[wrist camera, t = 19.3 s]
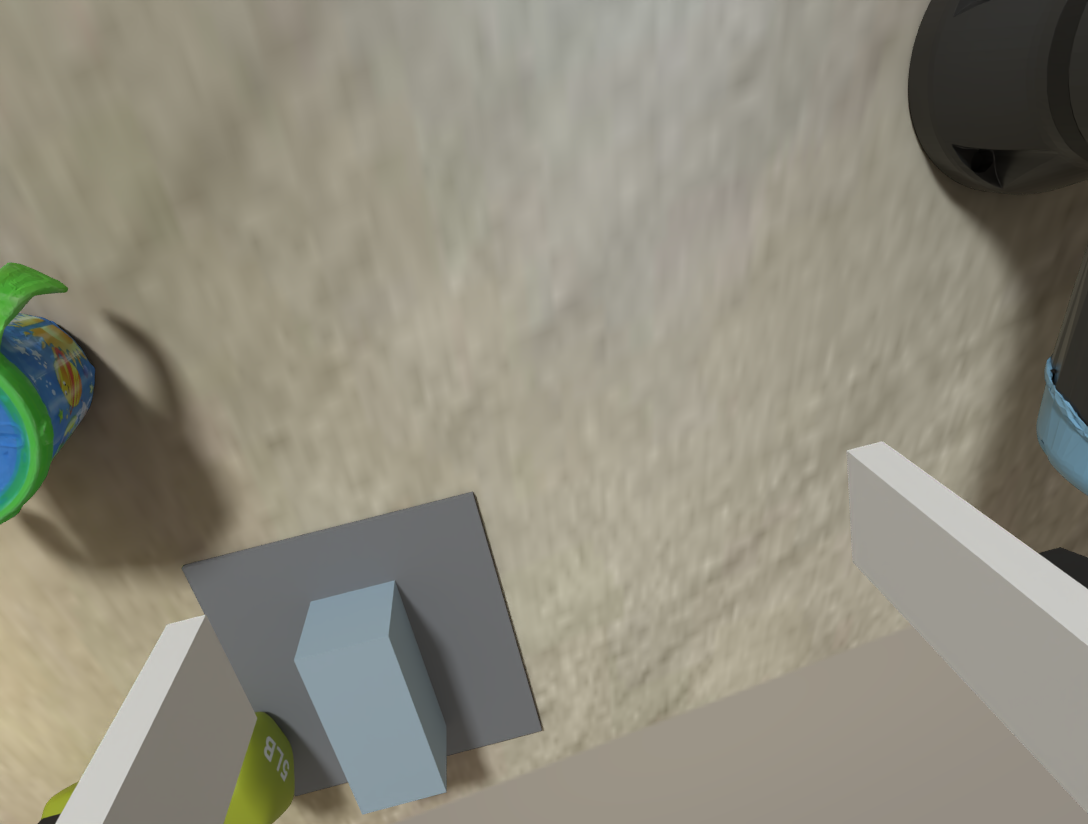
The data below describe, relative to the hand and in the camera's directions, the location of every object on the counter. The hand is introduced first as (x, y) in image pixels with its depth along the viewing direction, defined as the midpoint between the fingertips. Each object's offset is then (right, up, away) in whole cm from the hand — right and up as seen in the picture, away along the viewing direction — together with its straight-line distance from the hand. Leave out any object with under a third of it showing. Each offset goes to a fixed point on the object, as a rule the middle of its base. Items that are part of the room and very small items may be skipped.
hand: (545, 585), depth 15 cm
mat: (-12, -14, +38) cm, 43 cm away
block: (-10, -23, +38) cm, 46 cm away
